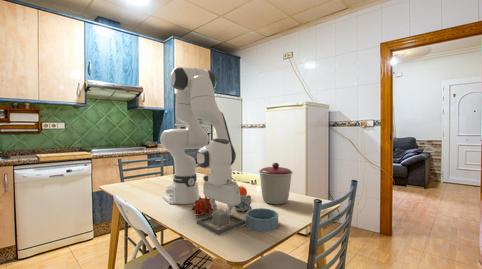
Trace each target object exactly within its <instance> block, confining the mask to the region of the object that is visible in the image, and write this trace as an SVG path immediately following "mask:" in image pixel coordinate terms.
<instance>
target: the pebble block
mask: <svg viewBox="0 0 482 269" xmlns="http://www.w3.org/2000/svg"><path fill="white" fill-rule="evenodd" d="M212 215H213V219H212V225H214V226H216V227H218V228H219V229H221V228H224V227H227V226H229V225H231V224H230V220H231V219H230V215H226V210H224V209H219V210H214V211H212Z"/></svg>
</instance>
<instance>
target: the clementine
mask: <svg viewBox="0 0 482 269" xmlns="http://www.w3.org/2000/svg"><path fill="white" fill-rule="evenodd" d="M238 186H239V190H240V196H247V193H248V191H247V188H246V187H245V186H243V185H238Z"/></svg>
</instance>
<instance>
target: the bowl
mask: <svg viewBox="0 0 482 269" xmlns="http://www.w3.org/2000/svg"><path fill="white" fill-rule="evenodd" d="M245 220H246V224H245V225H246V227H247V228H248V229H250V230H252V231H256V232H272V231H274V230H276V229H278V227H279V213H278V212H277V211H276V210H273V209H270V208H262V207H260V208H252V209H251V210H249V211H246V213H245Z"/></svg>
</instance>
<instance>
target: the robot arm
mask: <svg viewBox="0 0 482 269" xmlns="http://www.w3.org/2000/svg"><path fill="white" fill-rule="evenodd" d="M216 78H217V77H216V75H215V73H214V72H213V71H212V70H210V69H202V68H198V67H183V66H178V67H174V68H173V69H172V70H171V73H170V80H169V81H170V84H171V86H172V88H174V90H176V95H175V96H176V97H175V118H176V120H178V121H179V122H180V123H183V124H185V125H186V128H170V129H166V130H163V131H162V132H161V134H160V137H159V142H160V145H161V146H162V147H163V148H164V150H167V151H168V153H169V154H170V155H171V156H172V159H173V165H174V174H173V175H172V178H173V179H172V182H171V183H170V184H169V185H168V186H167V188H166V190H165V192H166V194H163V195H162V198H163V199H164V200H165V202H167V203H168V204H169V205H188V204H193V203H194V204H195V201H197V200H199V198H201V195H200V194H199V193H200V192H199V184H198V182H197V180H198V179H197V178H198V175H197V172H196V170H197V167H196V166H197V165H198V166H199V167H200V168H202V169H210V172H209V173H208V174H206V175H203V177H202V180H203V184H202V185H203V195H204V198H205V197H207V198H210V203H211V205H212V209H214V210H213V211H216V210H217V208H218V205H217V204H216V201H217V202H219V203H223V204H225V205H227V209H226V210H225V211H226V215H233V214H232V213H233V212H232V211H233V209H234V206H237V205H239V204H240V202H241V198H240V190H239V186H240V185H239V184H238V183H237V181H235V180H233V173H232V172H233V170H232V165H234V163H235V160H236V158H237V155H236V151H235V148H234V146H233V143H232V139H231V137H230V133H229V132H230V131H229V128H228V125H227V122H226V121H227V120H226V119H225V118H226V117H225V115H224V113H223V112H222V111H221V110H220V109H219V106H218V104H217V102H216V95H215V90H214V88H215V86H216V83H217V79H216ZM199 119H200V120H202V121H204V122H207V123H208V124H210V125H212V126H213V128H214V129H215V132H216V135H217V138H213V139H212V140H209V139H210V137H209V134H208V131H206V130H205V129H204V128H203V127H202V126H201V125H200V122H199ZM209 141H210V143H209ZM191 149H192V150H196V149H197V151H196V155H195V158H194V157H193V156H191V155H189V154H186V152H185V150H191ZM196 164H197V165H196Z"/></svg>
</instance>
